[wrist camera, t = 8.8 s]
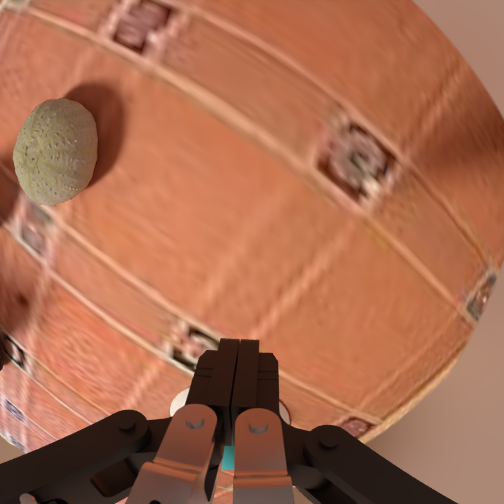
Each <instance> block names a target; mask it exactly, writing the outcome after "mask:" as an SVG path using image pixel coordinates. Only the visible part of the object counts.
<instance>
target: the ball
mask: <svg viewBox="0 0 504 504" xmlns="http://www.w3.org/2000/svg"><path fill="white" fill-rule="evenodd" d="M234 458H235V446H234V445H233V440H232V446H225V447H224V454H223V459H222V467H221V469H222V470H233V469H234Z"/></svg>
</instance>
